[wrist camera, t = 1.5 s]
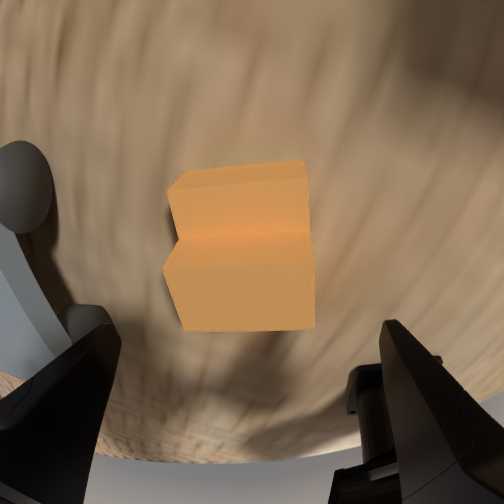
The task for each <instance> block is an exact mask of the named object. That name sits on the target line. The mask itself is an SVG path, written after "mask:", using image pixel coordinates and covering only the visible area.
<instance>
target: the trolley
mask: <svg viewBox="0 0 504 504" xmlns="http://www.w3.org/2000/svg"><path fill="white" fill-rule="evenodd" d="M52 192H53V185H52V176H51V172H50V168H49V165H48V163H47V161H46V159H45V157H44V155H43V154H42V152H41V151H40V150H39V149H38V148H37V147H36V146H35V145H33V144H31V143H29V142H27V141H14V142H11V143H9V144H7V145H5V146H3V147H2V148H0V370H1V371H2V372H5V373H7V374H10V375H12V376H15V377H18V378H20V379H23V380H26V381H27V380H28V379H30V378H31V377H32V376H34V375H35V374H36V373H37V372H38V371H40V370H41V369H42V368H43V367H45V366H46V365H47V364H49V363H50V362H51V361H52V360H54V359H55V358H56V357H58V356H59V355H60V354H61V353H63V352H64V351H65V350H67V349H68V348H69V347H70V346H72V345H73V344H74V343H76V342H77V341H78V340H80V339H81V338H82V337H84V336H85V335H86V334H88V333H89V332H90V331H91V330H93V329H94V328H95V327H97V326H98V325H99V324H101V323H111V324H112V321H111V319H110V317H109V315H108V314H107V312H106V311H105V310H104V309H103V308H101V307H99V306H93V305H73V304H72V305H68V306H66V307H65V308H63V309H62V310H61V311H60V313H59V314H58V316H57V317H56V315H55V313H54V312H53V310H52V308H51V306H50V305H49V303H48V301H47V299H46V298H45V296H44V294H43V292H42V290H41V288H40V287H39V285H38V283H37V281H36V279H35V277H34V275H33V273H32V271H31V269H30V267H29V265H28V263H27V261H26V259H25V256H24V254H23V252H22V250H21V248H20V245H19V243H18V241H17V239H16V236H15V235H16V234H22V233H28V232H31V231H33V230H35V229H36V228H38V227H39V226H40V225H41V224H42V222H43V221H44V219H45V218H46V216H47V214H48V212H49V209H50V205H51V201H52Z"/></svg>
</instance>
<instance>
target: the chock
mask: <svg viewBox="0 0 504 504" xmlns="http://www.w3.org/2000/svg"><path fill="white" fill-rule="evenodd" d="M167 195H168V200H169V204H170V208H171V211H172V215H173V219H174V223H175V227H176V231H177V234H178V238H179V240H178V241H177V243H176V245H175V247H174V249H173V250H172V252H171V254H170V256H169V257H168V259H167V261H166V263H165V265H164V267H163V268H162V270H163V273H164V276H165V279H166V282H167V285H168V288H169V291H170V293H171V296H172V299H173V302H174V305H175V307H176V310H177V313H178V315H179V318H180V321H181V323H182V326H183V328H184V331H208V332H240V331H283V330H306V329H315V259H314V252H313V245H312V238H311V232H310V209H309V189H308V177H307V172H306V168H305V164H304V160H299V161H284V162H271V163H259V164H248V165H238V166H228V167H219V168H211V169H203V170H195V171H188V172H184V173H183V174H182V175H181V176H180V177H179V178H178V179H177V181H176V182H175V183H174V184H173V185H172V186H171V187H170V188H169V189H168V190H167Z"/></svg>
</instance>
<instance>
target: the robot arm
mask: <svg viewBox="0 0 504 504" xmlns="http://www.w3.org/2000/svg"><path fill="white" fill-rule="evenodd" d="M121 345H122V342H121V338H120V336H119V334H118V333H117V331H116V329H115V327H114V325H113V324H111V323H101V324H99V325H98V326H97V327H95V328H94V329H93V330H91V331H90V332H89V333H88V334H86V335H85V336H84V337H82V338H81V339H80V340H78V341H77V342H76V343H74V344H73V345H72V346H70V347H69V348H68V349H67V350H65V351H64V352H63V353H61V354H60V355H59V356H58V357H56V358H55V359H54V360H52V361H51V362H50V363H49V364H47V365H46V366H45V367H43V368H42V369H41V370H40V371H38V372H37V373H36V374H35V375H34V376H32V377H31V378H30V379H28V380H27V381H26V382H25V383H23V384H22V385H21V386H19V387H18V388H17V389H15V390H14V391H12V392H11V393H10V394H8V395H7V396H5V397H4V398H2V399H1V400H0V504H83V502H84V497H85V492H86V487H87V482H88V477H89V472H90V468H91V463H92V459H93V455H94V451H95V447H96V443H97V439H98V435H99V431H100V427H101V424H102V420H103V416H104V413H105V409H106V406H107V402H108V399H109V396H110V392H111V389H112V386H113V382H114V378H115V373H116V368H117V364H118V359H119V354H120V350H121ZM379 348H380V356H381V364H378V365H369V366H362V367H359V368H358V369H357V370H356V373H355V378H354V382H353V386H352V390H351V394H350V397H349V401H348V405H347V414H348V415H357V414H358V417H359V426H360V435H361V446H362V457H363V464H362V465H358V466H355V467H351V468H347V469H339V470H335V472H334V477H333V482H332V487H331V491H330V496H329V500H328V504H504V428H503V427H502V426H501V425H500V424H499V423H498V422H497V421H496V420H495V419H493V418H492V417H491V416H490V415H489V414H488V413H487V412H486V411H485V410H484V409H483V408H482V407H481V406H480V405H479V404H478V403H477V402H476V401H475V400H474V399H473V398H472V397H471V396H470V395H469V393H468V392H467V391H466V390H464V388H463V387H462V386H461V385H460V384H459V383H458V382H457V381H456V379H455V378H454V377H453V376H452V375H451V374H450V373H449V372H448V371H447V370H446V369H445V368H444V367H443V366H442V364H443V361H442V358H441V356H433V355H432V354H431V353H430V352H429V351H428V350H427V349H426V348H425V347H424V346H423V345H422V344H421V343H420V342H419V341H418V340H417V339H416V338H415V337H414V336H413V335H412V334H411V333H410V332H409V331H408V330H407V329H406V328H405V327H404V326H403V325H402V324H401V323H400V322H399V321H398V320H396V319H392V320H385V321H384V322H383V325H382V329H381V333H380V337H379Z"/></svg>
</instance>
